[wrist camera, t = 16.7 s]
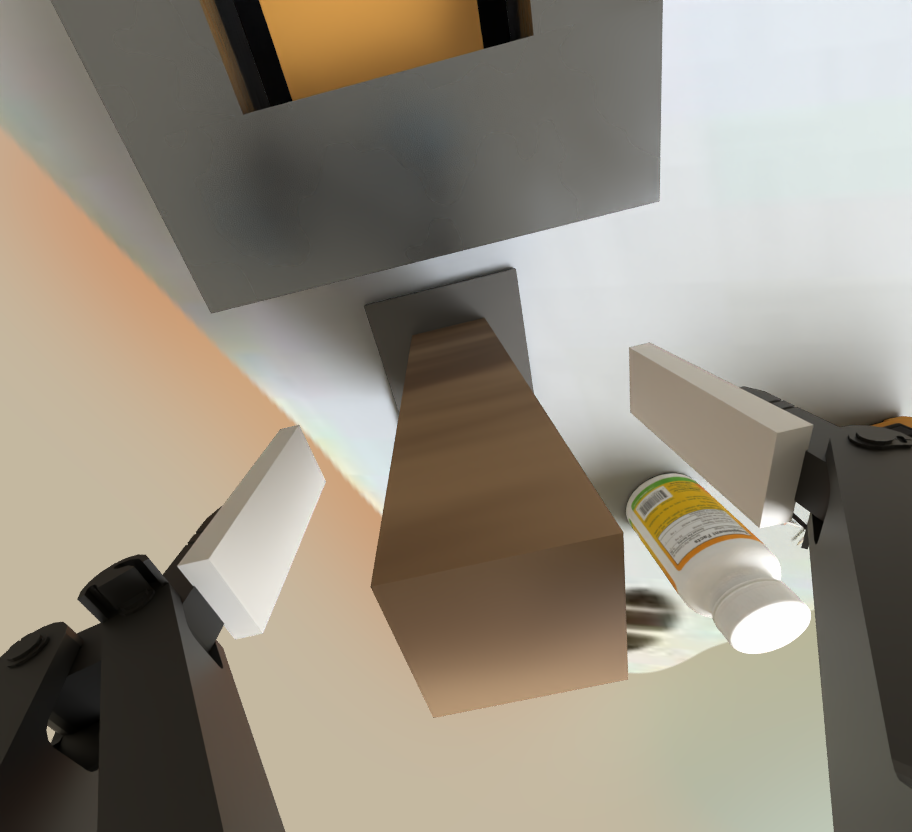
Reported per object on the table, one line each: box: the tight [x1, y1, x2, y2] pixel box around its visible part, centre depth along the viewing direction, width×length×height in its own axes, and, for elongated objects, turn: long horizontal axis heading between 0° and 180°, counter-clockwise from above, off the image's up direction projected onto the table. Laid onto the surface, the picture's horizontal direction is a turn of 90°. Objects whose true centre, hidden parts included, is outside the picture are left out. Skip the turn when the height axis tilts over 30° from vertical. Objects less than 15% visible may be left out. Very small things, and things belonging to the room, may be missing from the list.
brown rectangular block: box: [371, 318, 628, 718], centre depth 14 cm, size 4×4×16 cm
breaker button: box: [259, 0, 484, 101], centre depth 12 cm, size 5×5×6 cm
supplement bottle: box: [626, 473, 811, 654], centre depth 23 cm, size 5×5×10 cm
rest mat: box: [364, 268, 534, 412], centre depth 21 cm, size 8×8×1 cm
